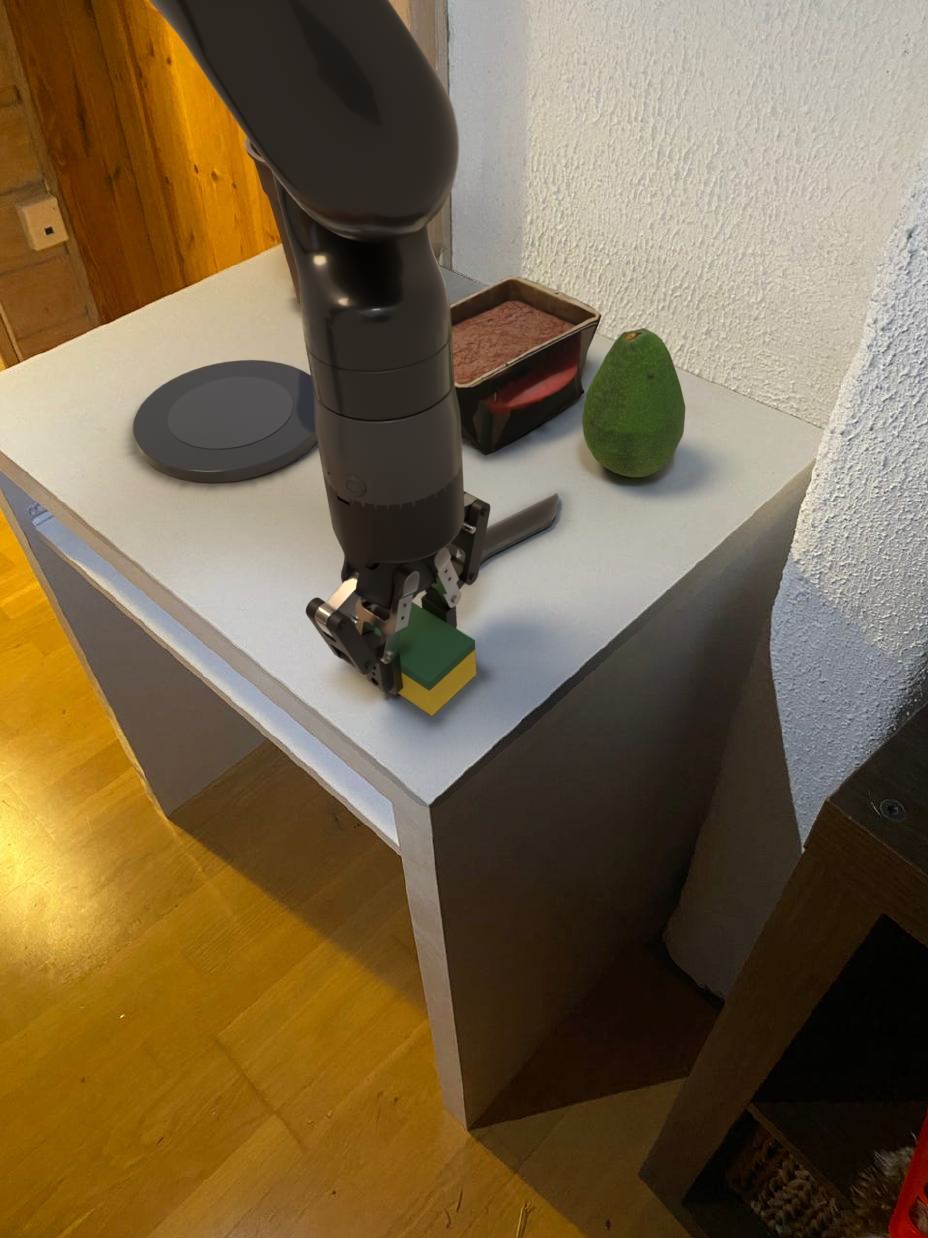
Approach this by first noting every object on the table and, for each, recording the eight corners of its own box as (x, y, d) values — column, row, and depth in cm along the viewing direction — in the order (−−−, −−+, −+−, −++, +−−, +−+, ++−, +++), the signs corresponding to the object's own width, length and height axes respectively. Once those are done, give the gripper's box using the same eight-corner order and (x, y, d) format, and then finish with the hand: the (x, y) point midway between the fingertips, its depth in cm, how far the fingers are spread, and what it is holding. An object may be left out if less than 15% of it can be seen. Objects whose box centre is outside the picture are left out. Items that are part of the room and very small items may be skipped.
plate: (220, 510, 74) (216, 497, 73) (97, 432, 82) (93, 420, 81) (368, 412, 83) (366, 400, 82) (244, 351, 90) (241, 339, 90)
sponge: (431, 716, 59) (428, 682, 57) (355, 664, 63) (348, 629, 60) (476, 674, 62) (475, 639, 59) (400, 626, 65) (396, 591, 62)
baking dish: (378, 411, 86) (356, 324, 78) (525, 322, 91) (519, 230, 83) (473, 496, 79) (460, 410, 71) (627, 394, 84) (631, 302, 76)
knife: (429, 591, 67) (429, 584, 66) (400, 560, 69) (399, 554, 69) (578, 515, 72) (579, 508, 72) (547, 489, 74) (547, 482, 74)
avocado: (635, 428, 80) (651, 299, 71) (695, 476, 75) (720, 343, 66) (559, 459, 77) (566, 328, 68) (616, 510, 72) (631, 377, 64)
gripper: (428, 372, 54) (442, 579, 67) (242, 494, 47) (297, 701, 60) (529, 418, 51) (524, 627, 63) (345, 557, 44) (380, 762, 56)
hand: (414, 661), depth 61 cm, fingers closed on sponge, 4 cm apart
